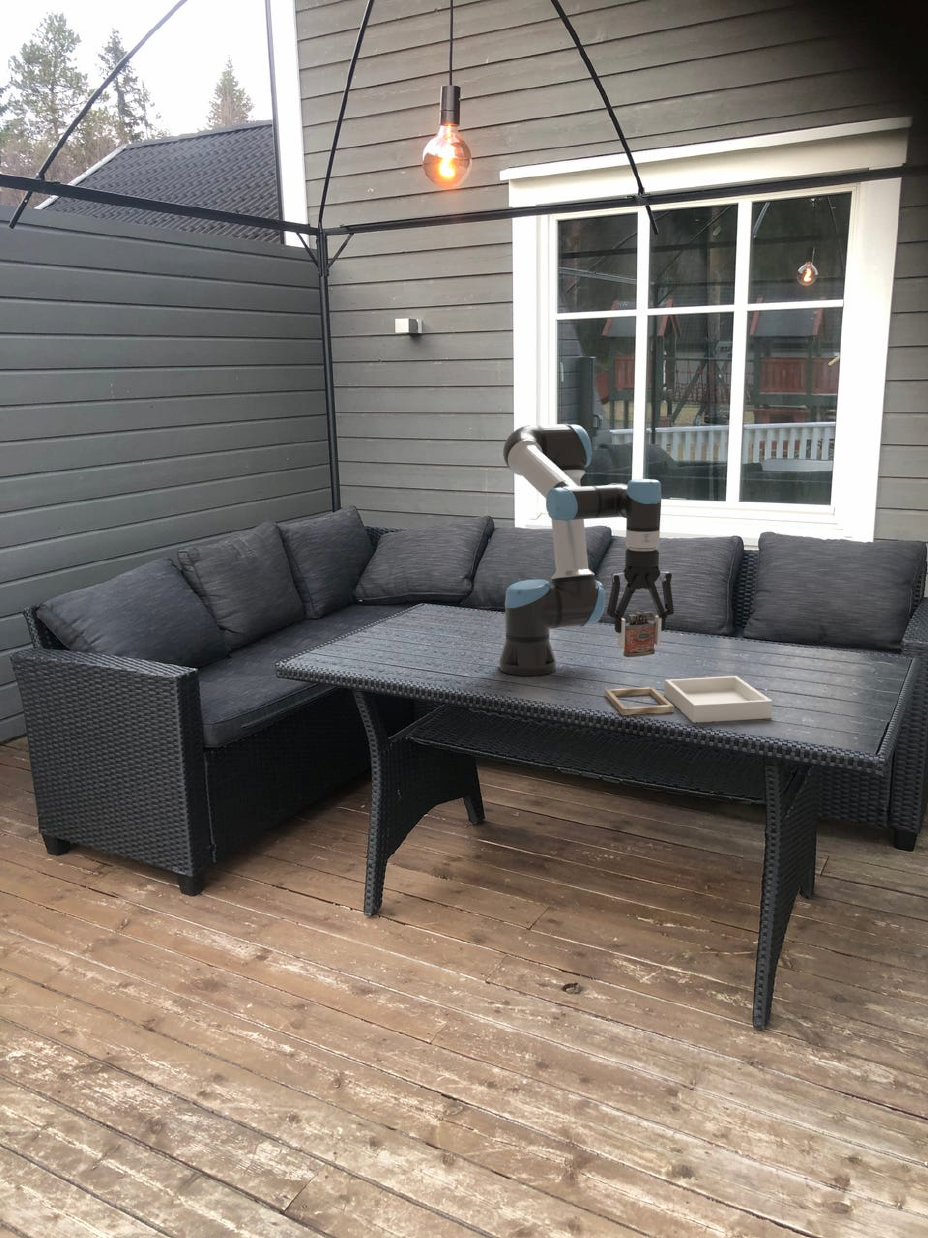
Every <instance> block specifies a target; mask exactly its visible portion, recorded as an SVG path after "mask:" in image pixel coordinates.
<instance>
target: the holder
mask: <svg viewBox="0 0 928 1238" xmlns="http://www.w3.org/2000/svg"><path fill="white" fill-rule="evenodd" d="M604 692H605V693H604V697H606V698H607V700H608V701H609V702H610V703H611V704H612V706H614V707H615V709H616V710H617V709H618V710H619V713H620V714H621V715H622V716H632V715H631V714H638V715H645V714H644V713H655V714H666V713H665V712H673V713H674V711H675V708H674V707H675V705H674V704H673V703H672V702H671V701H670V700H669V699H667V698H666V697H665V696H664V695H662V693H660V692H659V691H658V690H657V689H656V688H655V687H654V686H650V687H648V686H647V687H634V688H633V687H631V688H630V687H629V688H613V689H609V688H608V689H605V690H604ZM645 695H650V696H652V697H653V698H654V699H655V701H656V702H657V703H658V704H660V705H649V706H648V705H646V706H627V707H626V706H625V705H624V704H623V703H622V701H620V699H619V697H626V696H627V697H628V696H645ZM618 710H617V711H618Z"/></svg>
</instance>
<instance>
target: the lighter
mask: <svg viewBox="0 0 928 1238" xmlns="http://www.w3.org/2000/svg"><path fill="white" fill-rule="evenodd" d="M653 617H654V612H653V611H644V612H639V611H636V612H635V613H634V614H629V615H628V618H629V619H628V620H629V622H627V623H626V622H625V647H623V649H624V651H622V652H623V657H624V658H638V657H639V658H640V657H646V656H652V655H654V654H655V652H656V649H655V643H654V638H655V626H656V622H655V620H649V619H651V618H653Z"/></svg>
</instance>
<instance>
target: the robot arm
mask: <svg viewBox="0 0 928 1238" xmlns="http://www.w3.org/2000/svg"><path fill="white" fill-rule="evenodd" d="M502 449H503V451H502V452H503V453H502V454H503V455H502V457H503V460H504V463H505V465H506V466H507V467H508V469H509V470H510V471H512V473H514V474H515V475H517V476H520V477H521V476H522V477H523V478H524V479H525V480H526V481H527V482H528V483H529V484H530V485H531V486H532V487H533V489H534V488H535V490H536V491H537V492H538V493H540V494H541V495H542V496H543V498H545V507H546V508H545V509H546V511H547V514H548V517H549V518H550V519H551V529H552V538H553V539H552V540H553V541H552V542H553V549H554V561H555V573H554V574H553V575H552V577H551V578H550V579H551V582H550V581H548V580H546V579H542V578H541V579H540V578H539V579H526V580H522V581H517V582H515V583H513V584H510V585H509V586H508V587H507V588H506V591H505V599H504V600H505V601H504V607H505V610H504V611H505V613H504V614H505V642H504V645H503V648H502V651H501V655H500V657H499V661H498V662H499V663H498V664H499V666H498V669H499V668H500V669H499V670H500V671H501V672H502V671H503V672H502V673H504V672H505V673H504V674H507V673H508V674H507V675H511V674H512V675H513V676H517V677H518V676H519V677H533V676H534V677H536V676H543V675H547V674H551V673H553V672H555V671H556V669H557V666H556V665H557V660H556V656H555V653H554V651H553V647H552V643H551V642H550V633H551V632H550V631H551V629H560V628H572V627H585V626H589V625H594V624H596V623H597V622H599V621H600V619H601V618H602V615H603V614H604V611H605V608H606V591H605V589H604V585H603V583H602V582H601V581H598V580H596V576H595V575H596V574H595V573H594V572H593V571H592V570H591V569H589V561H588V552H587V551H588V549H587V540H586V539H587V538H586V531H585V530H586V528H585V520H589V519H609V518H611V519H612V518H624V519H626V522H625V523H626V527H625V528H626V529H625V531H626V532H625V534H626V535H625V546H626V547H627V548H626V549H625V556H624V557H625V561H624V563H625V565H624V569H623V570H622V571H623V572H620V573H615V572H613V573H611V581H612V584H611V587H610V588H611V589H610V595H609V601H608V603H607V610H606V614H607V615H608V616H609V617H610V618H613V619H614V631H615V632H616V633H617V634H618V642H617V643H618V644H617V646H620V648H624V647H625V624H626V619H625V618H624V615H625V612H626V611H627V608H628V606H629V604H630V601H631V599H632V598H633V594H635V592H636V590H640V589H644V590H648V592H649V595H650V597H651V599H652V602H653V605H654V607H655V610H656V612H657V615H655V616H654V621H655V622H656V626H655V638H654V645H656V646H657V647H659V646H661V643H662V631H663V632H664V631H665V629H666V619H667V618H668V616H670V615H671V616H672V615H673V614H674V613H675V611H674V601H673V593H672V585H671V584H672V583H671V582H672V576H673V575H672V573H671V572H669V571H667V570H665V571H663V570H662V571H661V570H660V567H659V566H660V565H659V564H660V550H659V549H658V548H659V547H660V536H661V535H660V533H661V528H660V527H661V515H662V513H661V511H662V499H663V497H662V484H661V482H660V481H659V480H657V479H653V478H652V479H650V478H635V479H630V480H629V481H628V483H627V484H625V483H622V482H620V483H619V482H618V483H617V482H613V483H612V482H611V483H609V484H607V485H605V484H604V485H588V486H587V485H586V486H584V485H583V486H582V485H581V479H582V477H583V476H584V475H585V474H586V468H587V467H588V466H590V463H591V461H592V456H593V452H592V451H593V450H592V449H593V448H592V443H591V438H590V437H589V433H588V432H587V431H586V429H584V427H582V426H581V425H579V424H568V423H560V424H557V423H556V424H538V425H536V424H531V425H530V424H529V425H525V426H521V427H519V428H516V430H515V431H512V432H511V434H510V435H509V436H508V437H507V439H506V440H505V443H504V445H503V448H502ZM658 578H659V579H660V581H661V585H662V594H663V601H664V605H663V603H662V600H661V598H660V595H659V593H658V589H657V585H656V584H655V583H656V581H657V580H658ZM623 579H625V580H626V581H627V584H626V586H625V590H624V591H623V594H622V597H621V599H620V601H619V593H620V590H621V584H622V582H623ZM550 583H551V584H550ZM618 601H619V603H618ZM512 675H511V676H512Z"/></svg>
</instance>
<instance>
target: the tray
mask: <svg viewBox="0 0 928 1238" xmlns="http://www.w3.org/2000/svg"><path fill="white" fill-rule="evenodd" d="M663 694H664V695H663V697H664V698H666V699H667V700H668V701H669V702H670V703H671V704H672V705H673V706H674V707H676V708H677V709H678V708H679V709H680V710H681V712H682V713H683V714H684V715H685V716H686V717H687V718H688V719H689V720H690V721H691V722H692V723H693V724H694V723H696V722H697V723H713V721H714V722H726V721H727V722H728V721H743V720H745V721H746V720H760V719H761V720H762V719H763V720H765V719H772V712H773V711H772V709H773V700H772V699H770V698H769V697H767V696H766V695H764V694H763V693H761V692H760V691H759V690H757V689H755V687H753V686H751V685H750V684H748V683H747V682H746V681H745V680H743V679H742V678H740V677H739V676H737V675H730V676H729V675H727V676H710V677H709V676H708V677H690V678H676V679H675V678H673V679H672V678H671V679H664V691H663ZM679 709H678V710H679ZM680 710H679V711H680ZM697 723H696V724H697Z"/></svg>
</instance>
